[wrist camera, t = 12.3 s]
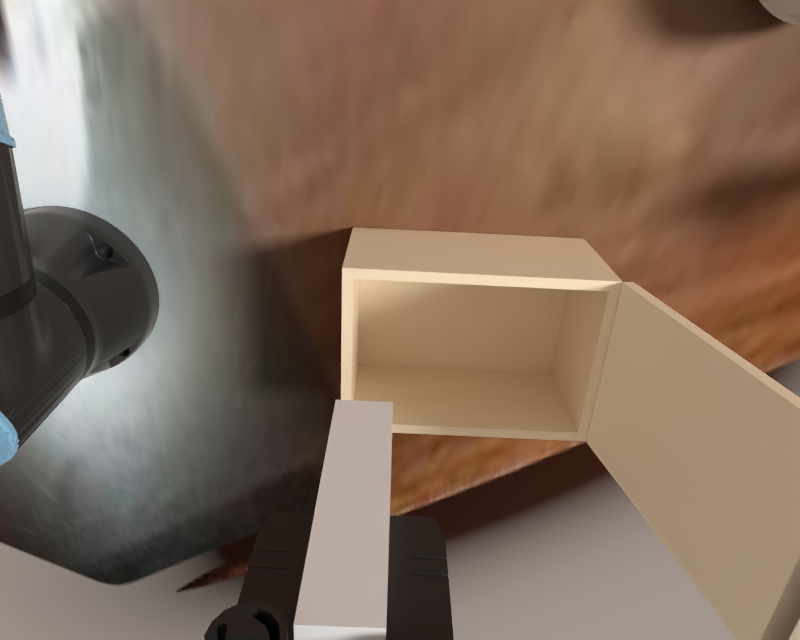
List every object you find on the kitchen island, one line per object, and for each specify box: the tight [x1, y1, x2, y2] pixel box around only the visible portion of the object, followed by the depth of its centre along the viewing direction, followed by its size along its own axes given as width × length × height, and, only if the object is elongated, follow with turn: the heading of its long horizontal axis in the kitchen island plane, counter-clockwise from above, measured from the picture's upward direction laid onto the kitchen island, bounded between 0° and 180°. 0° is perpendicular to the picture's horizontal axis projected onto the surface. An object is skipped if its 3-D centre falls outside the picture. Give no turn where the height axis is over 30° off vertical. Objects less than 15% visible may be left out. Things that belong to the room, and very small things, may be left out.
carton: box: [341, 227, 622, 441], centre depth 49 cm, size 20×14×10 cm
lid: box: [586, 282, 800, 640], centre depth 36 cm, size 20×14×1 cm
